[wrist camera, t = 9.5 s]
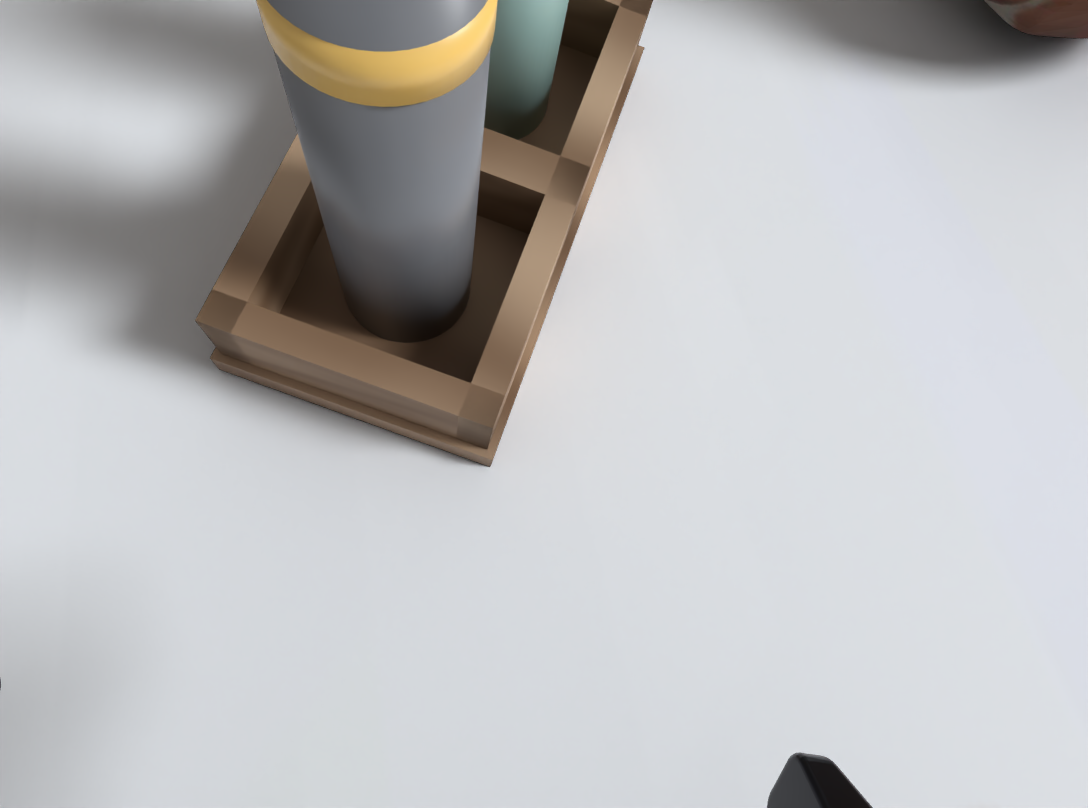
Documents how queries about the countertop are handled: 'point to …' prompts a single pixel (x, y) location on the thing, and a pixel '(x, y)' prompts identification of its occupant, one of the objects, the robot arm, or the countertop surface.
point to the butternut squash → (1045, 16)
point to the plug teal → (522, 64)
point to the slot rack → (496, 281)
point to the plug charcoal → (391, 146)
